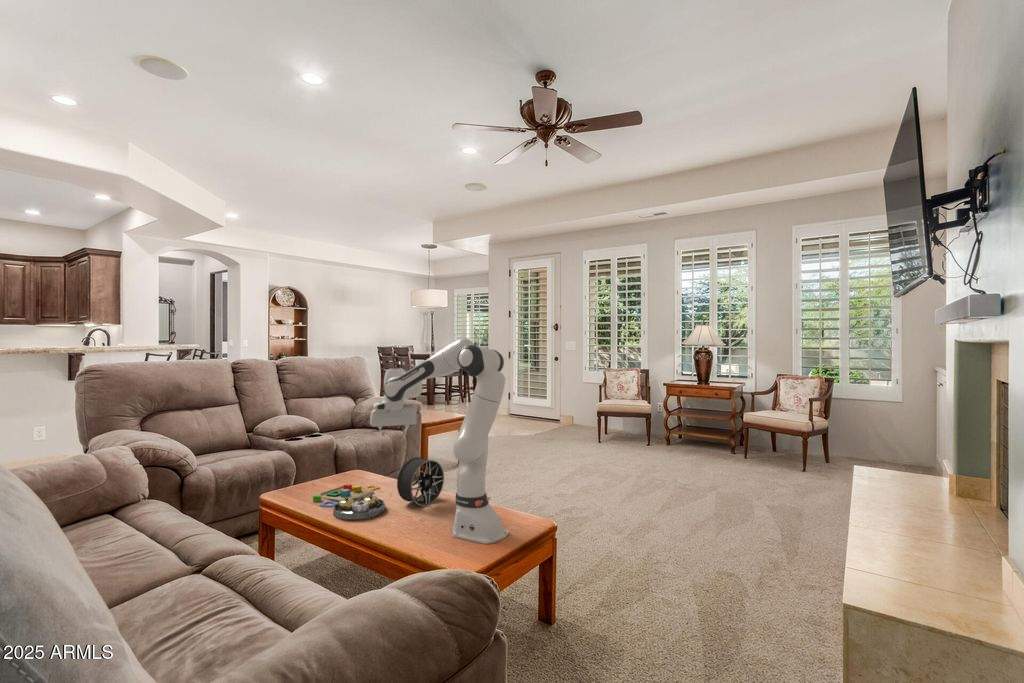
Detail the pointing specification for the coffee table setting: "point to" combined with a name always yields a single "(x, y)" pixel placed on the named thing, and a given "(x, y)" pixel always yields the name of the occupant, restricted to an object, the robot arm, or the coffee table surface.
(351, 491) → the shape sorter
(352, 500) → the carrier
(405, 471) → the wheel rim
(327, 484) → the coffee table surface
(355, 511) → the planet gear
